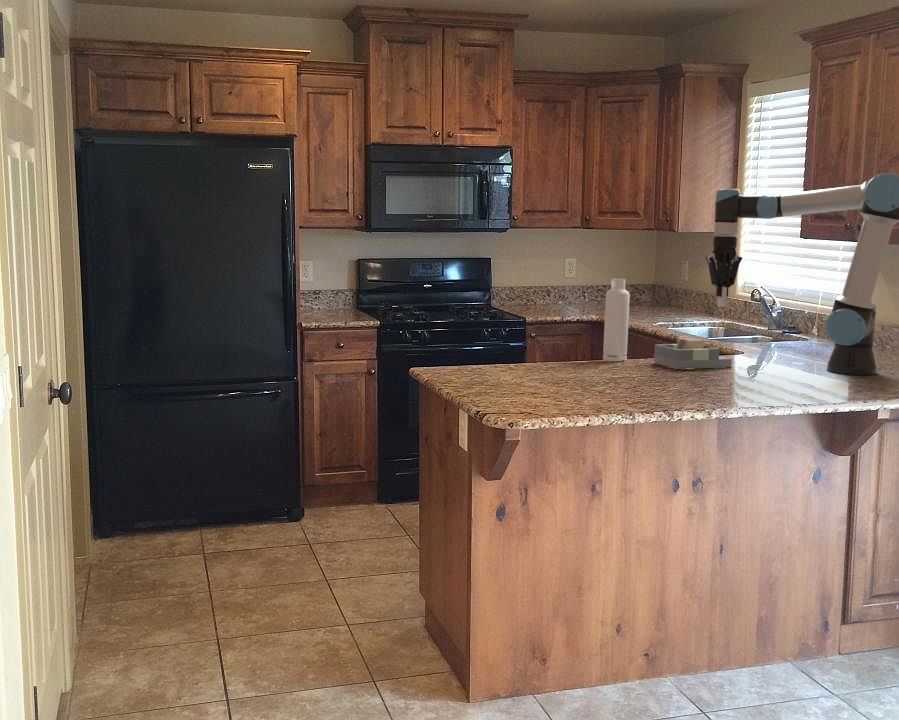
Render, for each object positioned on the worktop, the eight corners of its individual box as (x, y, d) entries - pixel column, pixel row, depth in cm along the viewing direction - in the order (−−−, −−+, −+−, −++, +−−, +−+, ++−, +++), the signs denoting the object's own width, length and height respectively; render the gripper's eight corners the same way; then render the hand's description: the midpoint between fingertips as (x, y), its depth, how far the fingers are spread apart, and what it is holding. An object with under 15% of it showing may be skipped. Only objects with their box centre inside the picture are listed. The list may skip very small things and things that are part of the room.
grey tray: (731, 367, 327) (732, 348, 326) (676, 369, 320) (677, 350, 319) (706, 361, 340) (708, 342, 339) (653, 363, 333) (654, 344, 332)
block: (702, 357, 327) (703, 340, 326) (686, 358, 325) (687, 340, 324) (691, 355, 333) (692, 337, 332) (676, 355, 331) (677, 338, 330)
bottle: (631, 361, 337) (635, 279, 333) (610, 362, 334) (614, 279, 330) (618, 357, 344) (622, 278, 340) (598, 358, 341) (602, 278, 337)
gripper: (735, 235, 332) (731, 305, 336) (702, 235, 328) (698, 305, 331) (748, 236, 325) (744, 307, 329) (715, 235, 321) (711, 307, 324)
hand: (721, 306), depth 330 cm, fingers closed
